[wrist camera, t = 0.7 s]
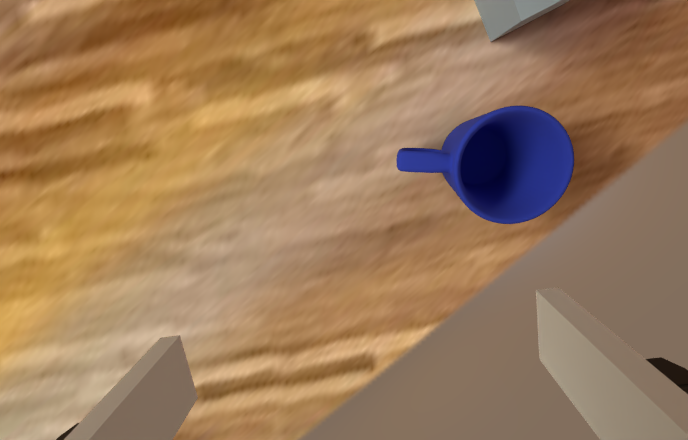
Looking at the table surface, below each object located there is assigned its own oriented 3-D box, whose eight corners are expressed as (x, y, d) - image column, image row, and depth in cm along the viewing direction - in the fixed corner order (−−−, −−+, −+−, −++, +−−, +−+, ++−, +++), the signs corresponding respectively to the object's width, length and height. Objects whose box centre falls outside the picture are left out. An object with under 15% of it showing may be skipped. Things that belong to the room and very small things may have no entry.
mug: (392, 108, 36) (403, 101, 26) (525, 113, 36) (585, 107, 26) (386, 195, 38) (394, 219, 28) (512, 201, 37) (564, 227, 28)
